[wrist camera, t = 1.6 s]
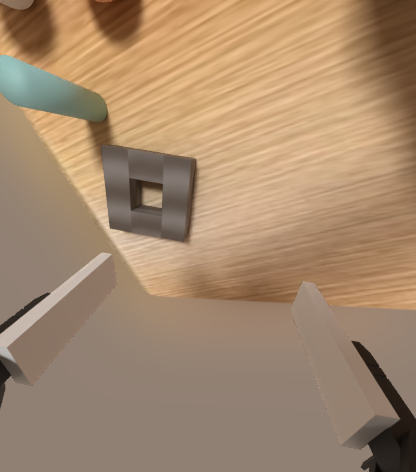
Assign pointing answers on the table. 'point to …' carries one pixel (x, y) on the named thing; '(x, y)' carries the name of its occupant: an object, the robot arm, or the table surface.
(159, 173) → the socket
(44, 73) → the peg
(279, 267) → the table surface
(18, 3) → the cup
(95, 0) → the egg
